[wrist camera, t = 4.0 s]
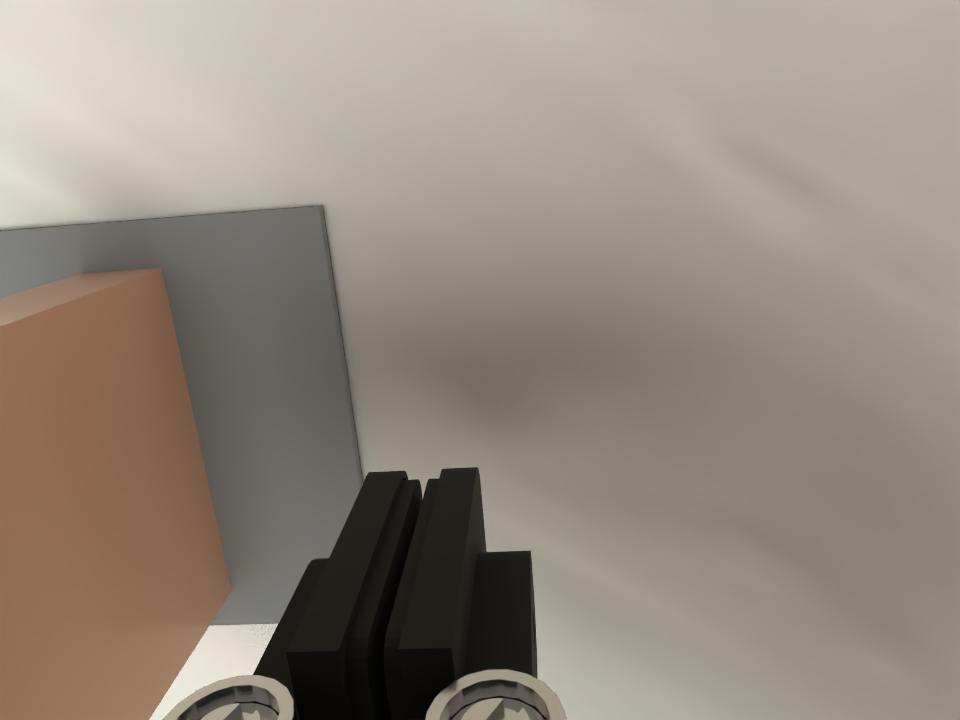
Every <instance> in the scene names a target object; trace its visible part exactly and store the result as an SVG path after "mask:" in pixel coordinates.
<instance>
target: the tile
mask: <svg viewBox="0 0 960 720" xmlns="http://www.w3.org/2000/svg"><path fill="white" fill-rule="evenodd" d="M231 591H232V589H231V584H230V579H229V575H228V570H227V566H226V561H225V557H224V552H223V547H222V543H221V538H220V534H219V529H218V525H217V520H216V515H215V511H214V506H213V502H212V497H211V492H210V488H209V483H208V479H207V474H206V470H205V465H204V460H203V456H202V451H201V447H200V442H199V438H198V433H197V428H196V424H195V419H194V415H193V410H192V406H191V401H190V396H189V392H188V387H187V383H186V378H185V373H184V369H183V364H182V360H181V355H180V351H179V346H178V341H177V337H176V332H175V328H174V323H173V319H172V314H171V309H170V305H169V300H168V296H167V291H166V286H165V282H164V277H163V273H162V268H150V269H137V270H123V271H109V272H96V273H82V274H78V275H74V276H71V277H68V278H65V279H62V280H58V281H55V282H52V283H49V284H46V285H42V286H39V287H36V288H33V289H30V290H26V291H23V292H20V293H17V294H14V295H10V296H7V297H4V298H1V299H0V720H149V719H150V717H151V716H152V714H153V713H154V711H155V709H156V708H157V706H158V705H159V703H160V702H161V700H162V699H163V697H164V695H165V694H166V692H167V691H168V689H169V688H170V686H171V684H172V683H173V681H174V680H175V678H176V677H177V675H178V674H179V672H180V670H181V669H182V667H183V666H184V664H185V663H186V661H187V660H188V658H189V656H190V655H191V653H192V652H193V650H194V649H195V647H196V646H197V644H198V642H199V641H200V639H201V638H202V636H203V635H204V633H205V631H206V630H207V628H208V627H209V625H210V624H211V622H212V621H213V619H214V617H215V616H216V614H217V613H218V611H219V610H220V608H221V607H222V605H223V603H224V602H225V600H226V599H227V597H228V596H229V594H230V593H231Z"/></svg>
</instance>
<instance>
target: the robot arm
mask: <svg viewBox="0 0 960 720" xmlns="http://www.w3.org/2000/svg"><path fill="white" fill-rule="evenodd" d="M163 720H567V718H566V714H565V711H564V709H563V707H562V705H561V702H560V700H559V698H558V696H557V695H556V694H555V693H554V692H553V691H552V690H551V689H550V688H549V687H548V686H547V685H546V684H545V683H544V682H542V681H540V680H538V678H537V645H536V623H535V605H534V590H533V575H532V561H531V551H509V552H486V542H485V530H484V519H483V508H482V496H481V485H480V475H479V470H478V467H475V468H453V469H442V471H441V474H440V478H439V479H428V482H427V486H426V489H425V493H424V497H423V499H422V491H421V485H420V481H419V479H418V480H408V477H407V473H406V472H405V471H389V472H369V473H368V475H367V476H366V479H365V481H364V483H363V485H362V487H361V489H360V492H359V494H358V496H357V498H356V500H355V503H354V505H353V507H352V509H351V511H350V513H349V516H348V518H347V520H346V522H345V524H344V527H343V529H342V531H341V533H340V535H339V538H338V540H337V542H336V544H335V546H334V548H333V551H332V553H331V555H330V557H329V558H319V559H314V560H311V562H310V563H309V565H308V566H307V568H306V570H305V572H304V574H303V576H302V578H301V580H300V582H299V584H298V586H297V588H296V590H295V592H294V594H293V596H292V598H291V600H290V602H289V604H288V606H287V608H286V610H285V612H284V614H283V616H282V618H281V620H280V622H279V624H278V626H277V628H276V630H275V632H274V634H273V636H272V638H271V640H270V642H269V644H268V646H267V648H266V650H265V652H264V654H263V656H262V658H261V660H260V662H259V664H258V666H257V668H256V670H255V672H254V674H253V675H247V676H236V677H232V678H228V679H224V680H219V681H217V682H215V683H212V684H210V685H208V686H206V687H203V688H201V689H199V690H197V691H196V692H194V693H193V694H191V695H190V696H188V697H187V698H185V699H184V700H182V701H181V702H179V703H178V704H177V705H176V706H175V707H174V708H173V709H172V710H171V711H170V712H169V713H168V714H167V715H166V716H165V717H164V718H163Z"/></svg>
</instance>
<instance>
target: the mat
mask: <svg viewBox="0 0 960 720" xmlns="http://www.w3.org/2000/svg"><path fill="white" fill-rule="evenodd" d="M150 268H162V273H163V277H164V282H165V286H166V291H167V296H168V300H169V305H170V309H171V314H172V319H173V323H174V328H175V332H176V337H177V341H178V346H179V351H180V355H181V360H182V364H183V369H184V373H185V378H186V383H187V387H188V392H189V396H190V401H191V406H192V410H193V415H194V419H195V424H196V428H197V433H198V438H199V442H200V447H201V451H202V456H203V460H204V465H205V470H206V474H207V479H208V483H209V488H210V492H211V497H212V502H213V506H214V511H215V515H216V520H217V525H218V529H219V534H220V538H221V543H222V547H223V552H224V557H225V561H226V566H227V570H228V575H229V579H230V584H231V589H232V591H231V593H230V594H229V596H228V597H227V599H226V600H225V602H224V603H223V605H222V607H221V608H220V610H219V611H218V613H217V614H216V616H215V617H214V619H213V621H212V622H211V624H210V625H241V624H274V623H279V622H280V620H281V618H282V616H283V614H284V612H285V610H286V608H287V606H288V604H289V602H290V600H291V598H292V596H293V594H294V592H295V590H296V588H297V586H298V584H299V582H300V580H301V578H302V576H303V574H304V572H305V570H306V568H307V566H308V565H309V563H310V562H311V560H314V559H319V558H329V557H330V555H331V553H332V551H333V548H334V546H335V544H336V542H337V540H338V538H339V535H340V533H341V531H342V529H343V527H344V524H345V522H346V520H347V518H348V516H349V513H350V511H351V509H352V507H353V505H354V503H355V500H356V498H357V496H358V494H359V492H360V489H361V487H362V485H363V481H362V474H361V467H360V460H359V453H358V446H357V439H356V433H355V426H354V419H353V412H352V405H351V398H350V391H349V384H348V378H347V371H346V364H345V357H344V350H343V343H342V336H341V329H340V323H339V316H338V309H337V302H336V295H335V288H334V281H333V274H332V268H331V261H330V254H329V247H328V240H327V233H326V226H325V219H324V212H323V206H322V205H321V206H308V207H295V208H283V209H270V210H257V211H244V212H232V213H219V214H206V215H194V216H181V217H168V218H156V219H143V220H130V221H118V222H105V223H92V224H79V225H67V226H54V227H41V228H29V229H16V230H3V231H0V299H1V298H4V297H7V296H10V295H14V294H17V293H20V292H23V291H26V290H30V289H33V288H36V287H39V286H42V285H46V284H49V283H52V282H55V281H58V280H62V279H65V278H68V277H71V276H74V275H78V274H82V273H96V272H109V271H123V270H137V269H150Z"/></svg>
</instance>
